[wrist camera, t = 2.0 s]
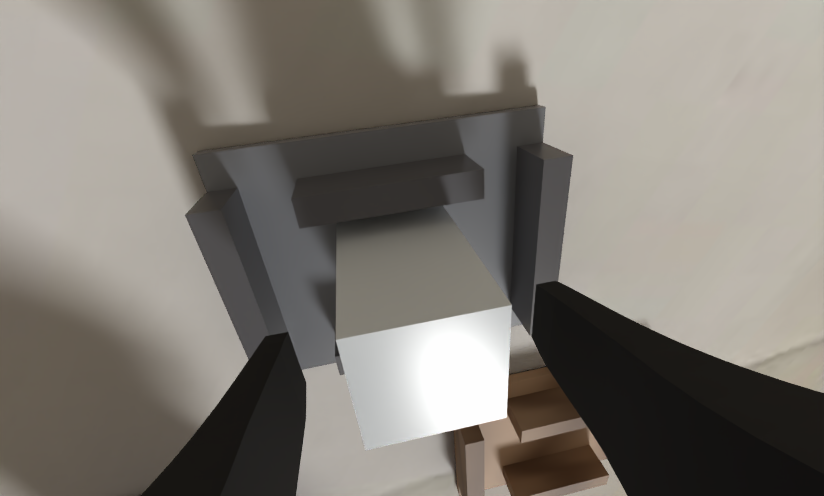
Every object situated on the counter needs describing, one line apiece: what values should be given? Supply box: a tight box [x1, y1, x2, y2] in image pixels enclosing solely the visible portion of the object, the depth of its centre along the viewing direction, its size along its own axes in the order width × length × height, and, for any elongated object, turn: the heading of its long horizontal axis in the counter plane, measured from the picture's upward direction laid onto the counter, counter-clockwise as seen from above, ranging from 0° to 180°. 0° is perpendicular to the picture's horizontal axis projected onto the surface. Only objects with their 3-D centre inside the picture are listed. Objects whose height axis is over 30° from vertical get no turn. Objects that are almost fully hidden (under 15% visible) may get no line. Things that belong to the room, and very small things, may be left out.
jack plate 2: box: [454, 367, 609, 496], centre depth 22 cm, size 12×10×2 cm
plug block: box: [336, 206, 512, 451], centre depth 12 cm, size 4×4×6 cm
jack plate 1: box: [185, 105, 573, 375], centre depth 14 cm, size 12×10×2 cm
